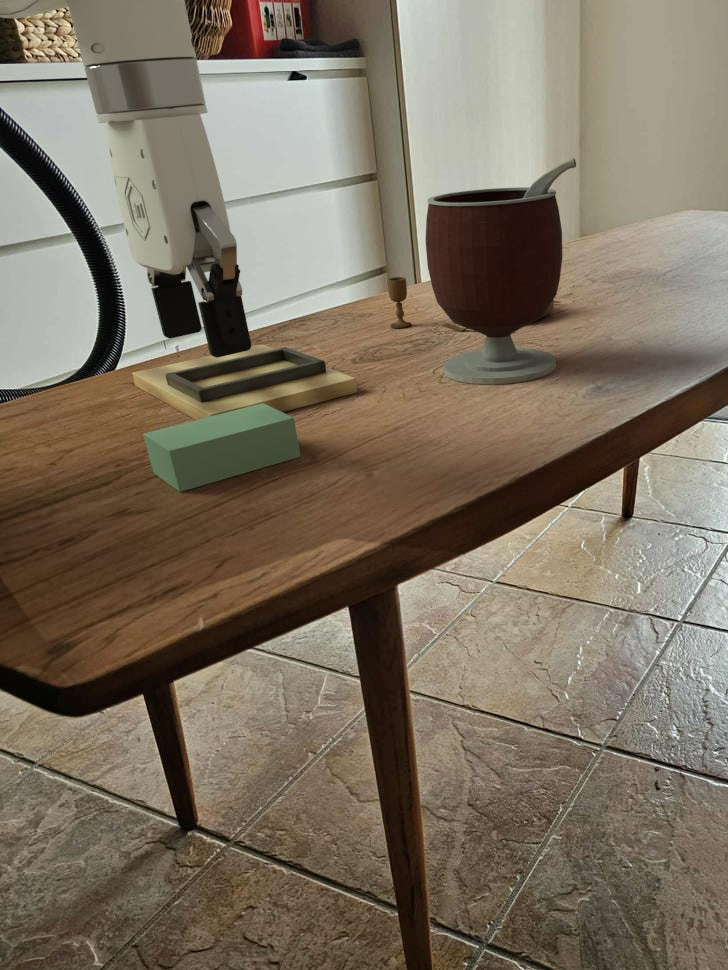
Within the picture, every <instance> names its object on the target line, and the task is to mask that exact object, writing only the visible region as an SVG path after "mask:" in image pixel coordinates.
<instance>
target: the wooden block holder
mask: <svg viewBox="0 0 728 970" xmlns="http://www.w3.org/2000/svg"><path fill="white" fill-rule="evenodd" d="M131 374H132V378H133V382H134V386H135V387H136V388H138V389H140V390H142V391H144V392H146V393H147V394H149V395H151V396H152V397H154V398H156V399H158V400H160V401H162V402H164V403H165V404H167V405H168V406H170V407H172V408H174V409H176V410H177V411H180V412H181V413H183V414H185V415H186V416H188V417H190V418H192V419H193V420H194V421H195V420H199V419H203V418H207V417H211V416H215V415H219V414H223V413H227V412H230V411H234V410H238V409H242V408H246V407H250V406H254V405H258V404H262V403H263V404H266V405H268V406H270V407H272V408H274V409H276V410H278V411H281V412H283V413H285V412H288V411H293V410H296V409H300V408H303V407H307V406H311V405H315V404H319V403H322V402H327V401H330V400H335V399H338V398H341V397H347V396H349V395H354V394H357V393H358V385H357V378H356V377H353V376H351V375H349V374H345V373H343V372H339V371H337V370H334V369H332V368H329V367H327V366H326V361H325V360H323V359H320V358H317V357H315V356H312V355H309V354H307V353H303V352H301V351H298V350H294V349H293V348H292V349H291V348H289V347H287V346H285V347H280V348H274V347H271V346H268V345H265V344H263V343H262V344H257V345H253V346H251V348H250V350H248V351H244V352H240V353H235V354H231V355H227V356H223V357H219V358H216V357H214V356H212V355H211V354H210V355H207V356H203V357H197V358H194V359H189V360H184V361H180V362H179V361H178V362H175V363H171V364H166V365H162V366H157V367H153V368H148V369H144V370H143V369H142V370H138V371H134V372H131Z"/></svg>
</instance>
